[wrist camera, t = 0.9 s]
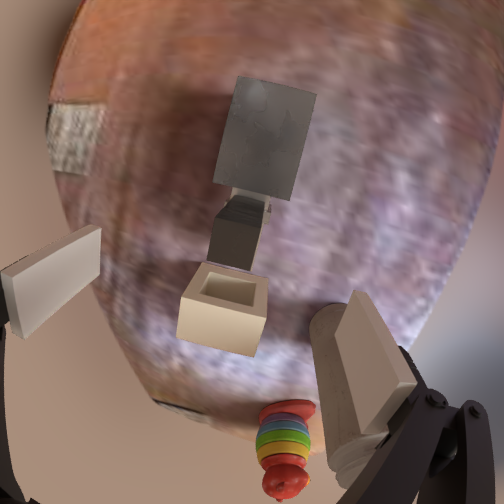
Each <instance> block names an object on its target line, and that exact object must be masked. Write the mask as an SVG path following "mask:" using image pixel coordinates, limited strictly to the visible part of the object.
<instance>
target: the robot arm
mask: <svg viewBox="0 0 504 504" xmlns="http://www.w3.org/2000/svg"><path fill="white" fill-rule="evenodd" d="M100 245H101V227H99V226H95V225H91V224H89V225H87V226H85V227H83V228H81V229H79V230H77V231H75V232H73V233H71V234H69V235H67V236H65V237H63V238H61V239H59V240H57V241H55V242H53V243H51V244H49V245H47V246H45V247H44V248H42V249H40V250H38V251H36V252H34V253H32V254H30V255H28V256H25V257H24V258H22V259H20V260H19V261H16V262H15V263H13V264H11V265H10V266H8V267H6V268H4V269H3V270H1V271H0V504H40V503H38V502H37V501H35V500H34V499H32V498H30V501H29V502H26V501H25V499H24V496H23V493H22V491H21V489H20V487H19V485H18V483H17V481H16V479H15V477H14V473H13V470H12V464H11V458H10V452H9V446H8V439H7V430H6V419H5V405H4V353H5V339H6V329H5V326H4V325H5V324H6V323H7V322H8V321H10V325H11V329H12V333H14V334H16V335H17V336H19V337H20V338H22V339H24V340H25V339H26V338H27V337H28V336H29V335H30V334H31V333H32V332H33V331H35V330H36V329H37V328H38V327H39V326H40V325H41V324H42V323H43V322H44V321H46V320H47V319H48V318H49V317H50V316H51V315H52V314H53V313H55V312H56V311H57V310H58V309H59V308H60V307H61V306H62V305H64V304H65V303H66V302H67V301H68V300H70V299H71V298H72V297H73V296H74V295H76V294H77V293H78V292H79V291H80V290H82V289H83V288H84V287H85V286H86V285H88V284H89V283H90V282H91V281H93V280H94V279H95V278H96V277H98V276H99V275H100ZM335 338H336V342H337V345H338V348H339V352H340V355H341V359H342V362H343V366H344V369H345V373H346V377H347V380H348V384H349V388H350V391H351V395H352V399H353V403H354V407H355V411H356V415H357V419H358V423H359V427H360V431H361V434H379V433H380V432H381V430H382V429H383V428H384V427H385V426H386V425H387V426H388V429H389V433H388V434H387V435H386V436H385V437H384V438H383V440H382V441H381V442H380V443H379V444H378V445H377V446H376V447H375V449H376V451H375V453H374V454H373V456H372V457H371V459H370V460H369V462H368V463H367V464H366V466H365V467H364V469H363V470H362V471H361V473H360V474H359V476H358V477H357V478H356V480H355V481H354V482H353V484H352V485H351V486H350V487H349V489H348V490H347V491H346V492H345V494H344V495H343V496H342V497H341V499H340V500H339V501H338V502H337V503H336V504H412V503H413V501H414V499H415V497H416V495H417V493H418V491H419V494H418V499H417V504H495V473H494V460H493V450H492V441H491V434H490V427H489V421H488V416H487V413H486V410H485V409H484V407H483V406H482V405H481V404H480V403H479V402H476V401H473V400H467V401H466V402H465V403H464V404H463V405H462V407H461V408H460V409H458V408H455V407H451V406H448V402H447V400H446V398H445V397H444V396H443V395H442V394H441V393H439V392H438V391H436V390H434V389H428V388H427V386H426V384H425V382H424V380H423V379H422V377H421V375H420V373H419V371H418V370H417V369H416V368H417V367H416V366H415V364H414V363H413V360H412V359H411V357H410V355H409V353H408V352H407V351H406V350H405V349H403V348H402V347H401V346H398V345H397V344H396V342H395V340H394V338H393V336H392V335H391V333H390V331H389V329H388V328H387V326H386V324H385V322H384V321H383V319H382V317H381V316H380V314H379V312H378V311H377V309H376V307H375V306H374V304H373V302H372V301H371V299H370V297H369V296H368V294H367V293H365V292H361V291H356V290H353V293H352V295H351V298H350V300H349V303H348V305H347V307H346V310H345V312H344V314H343V317H342V319H341V321H340V324H339V326H338V328H337V330H336V333H335ZM456 452H457V453H456ZM455 453H456V455H455Z"/></svg>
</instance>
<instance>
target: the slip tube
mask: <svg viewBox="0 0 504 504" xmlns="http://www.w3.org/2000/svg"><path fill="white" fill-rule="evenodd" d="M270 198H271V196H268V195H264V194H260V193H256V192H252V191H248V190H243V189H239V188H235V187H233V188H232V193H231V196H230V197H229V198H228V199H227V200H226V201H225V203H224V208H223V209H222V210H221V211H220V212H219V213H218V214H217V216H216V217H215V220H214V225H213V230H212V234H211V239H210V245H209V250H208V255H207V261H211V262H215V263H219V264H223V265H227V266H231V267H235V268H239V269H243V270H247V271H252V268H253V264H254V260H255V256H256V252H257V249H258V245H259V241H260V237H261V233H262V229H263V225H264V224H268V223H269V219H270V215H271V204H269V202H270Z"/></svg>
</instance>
